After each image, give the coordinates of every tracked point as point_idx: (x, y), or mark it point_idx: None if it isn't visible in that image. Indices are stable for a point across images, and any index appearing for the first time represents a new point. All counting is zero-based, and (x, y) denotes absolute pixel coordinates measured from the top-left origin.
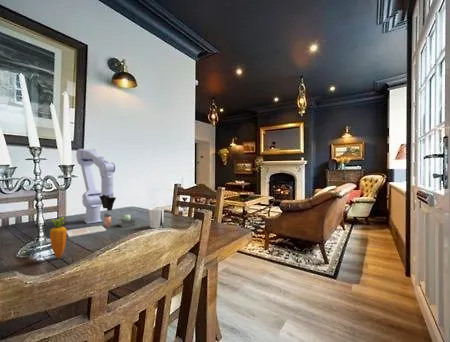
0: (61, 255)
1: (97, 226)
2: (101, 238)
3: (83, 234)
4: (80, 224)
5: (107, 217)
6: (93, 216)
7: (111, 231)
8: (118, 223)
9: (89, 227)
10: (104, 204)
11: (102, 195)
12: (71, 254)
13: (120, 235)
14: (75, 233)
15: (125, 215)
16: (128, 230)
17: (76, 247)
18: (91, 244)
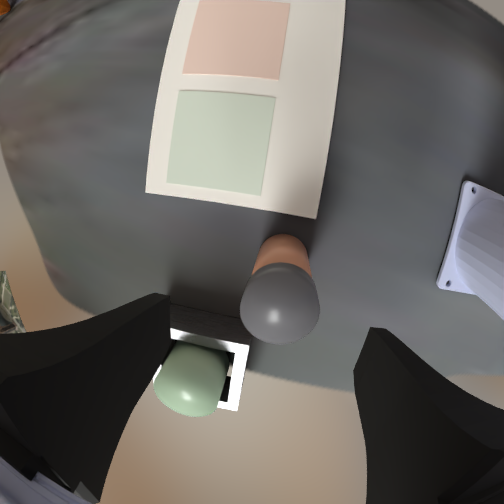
0: (2, 14)
1: (295, 179)
2: (45, 126)
3: (170, 49)
4: (480, 146)
5: (250, 277)
6: (485, 240)
7: (116, 211)
8: (244, 326)
9: (314, 121)
10: (383, 379)
11: (501, 490)
12: (5, 33)
13: (36, 216)
14: (205, 9)
15: (182, 390)
16: (85, 288)
17: (32, 34)
18: (19, 82)
